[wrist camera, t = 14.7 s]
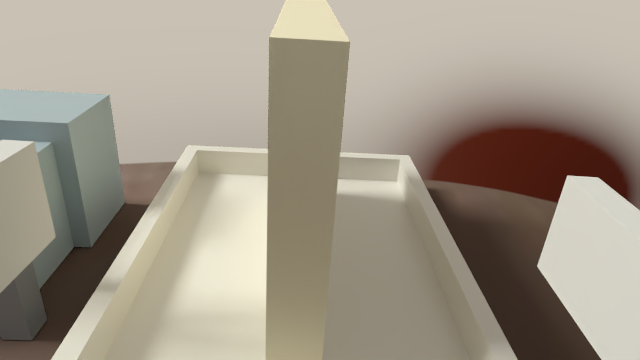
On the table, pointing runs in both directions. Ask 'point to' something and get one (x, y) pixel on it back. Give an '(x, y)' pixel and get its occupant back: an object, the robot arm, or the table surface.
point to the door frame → (61, 187)
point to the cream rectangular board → (302, 173)
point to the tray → (251, 264)
